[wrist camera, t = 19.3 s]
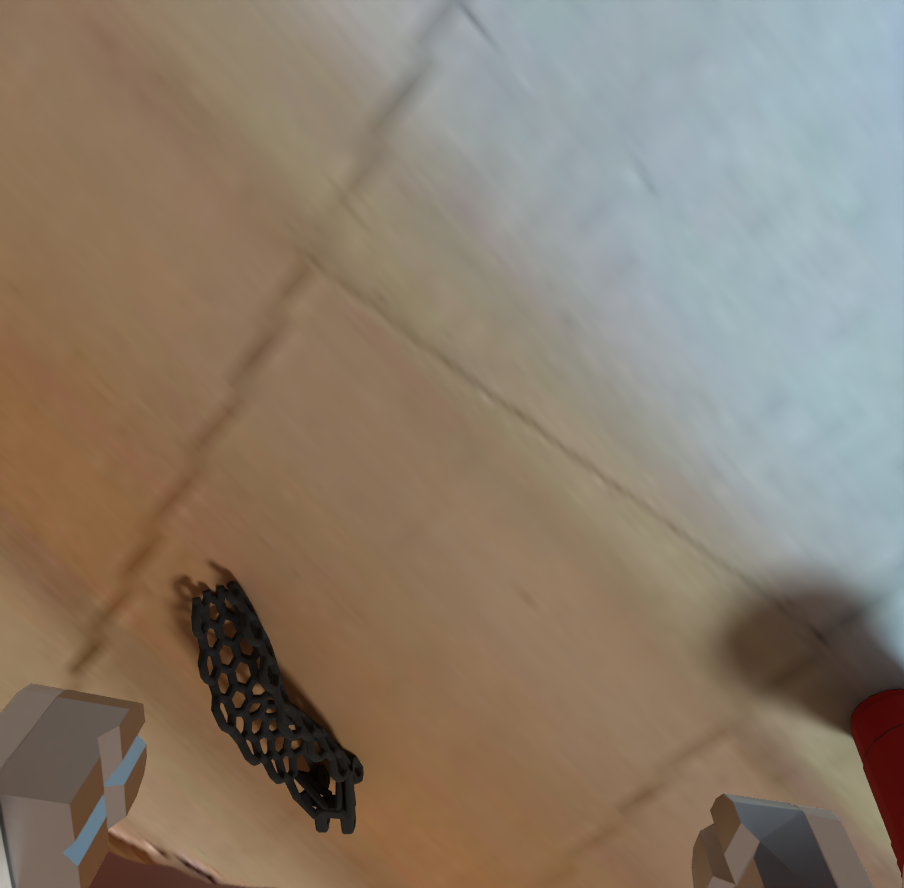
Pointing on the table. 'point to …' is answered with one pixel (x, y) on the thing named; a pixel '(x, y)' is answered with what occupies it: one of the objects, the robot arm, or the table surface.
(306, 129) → the table surface
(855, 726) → the plastic cup
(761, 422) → the table surface
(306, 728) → the decorative element
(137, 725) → the robot arm
